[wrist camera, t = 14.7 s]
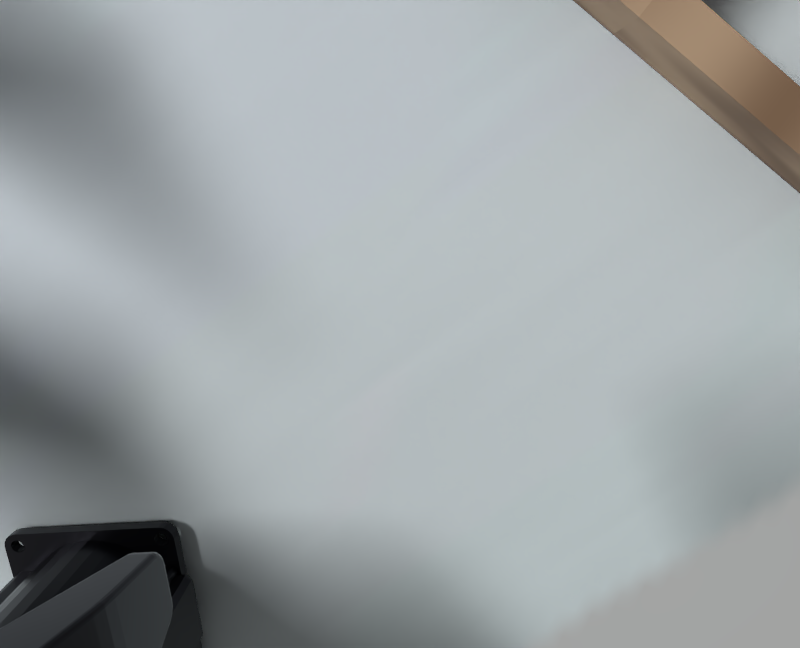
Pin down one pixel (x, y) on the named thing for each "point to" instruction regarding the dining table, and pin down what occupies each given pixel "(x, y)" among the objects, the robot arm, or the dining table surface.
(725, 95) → the caddy
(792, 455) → the dining table surface
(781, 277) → the dining table surface
